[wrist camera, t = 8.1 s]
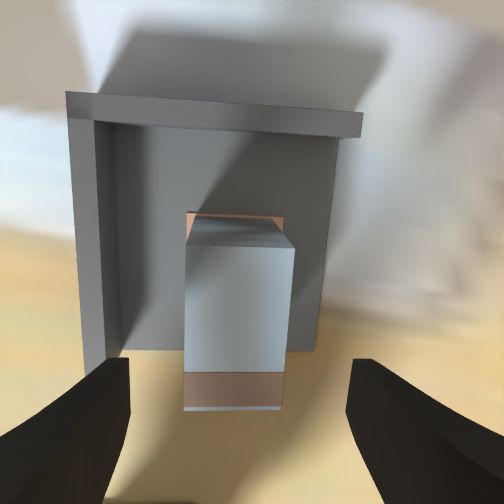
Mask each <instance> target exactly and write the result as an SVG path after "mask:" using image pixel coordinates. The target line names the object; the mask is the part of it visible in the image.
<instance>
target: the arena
mask: <svg viewBox="0 0 504 504" xmlns="http://www.w3.org/2000/svg"><path fill="white" fill-rule="evenodd" d="M66 106H67V121H68V136H69V150H70V165H71V179H72V194H73V209H74V223H75V238H76V252H77V267H78V282H79V296H80V311H81V325H82V340H83V355H84V369H85V377H86V376H87V375H88V374H89V373H90V372H92V371H93V370H94V369H95V368H96V367H98V366H99V365H100V364H101V363H102V362H104V361H105V360H106V359H107V358H118V357H119V355H120V353H121V351H122V350H184V340H185V245H186V242H187V239H188V236H189V233H190V230H191V227H192V224H193V221H194V218H195V216H211V217H236V218H260V219H273V220H274V222H275V223H276V224H277V226H278V227H279V228H280V230H281V231H282V232H283V234H284V235H285V236H286V237H287V239H288V240H289V241H290V243H291V244H292V245H293V247H294V248H295V254H294V265H293V276H292V287H291V299H290V310H289V321H288V332H287V343H286V351H314V349H315V340H316V331H317V323H318V314H319V305H320V297H321V288H322V279H323V271H324V262H325V253H326V244H327V236H328V227H329V218H330V210H331V201H332V192H333V184H334V175H335V166H336V157H337V149H338V140H339V139H343V138H359V137H360V136H361V128H362V120H363V113H362V112H348V111H334V110H320V109H307V108H293V107H279V106H265V105H251V104H238V103H224V102H210V101H196V100H182V99H168V98H155V97H141V96H127V95H113V94H99V93H86V92H71V91H66Z"/></svg>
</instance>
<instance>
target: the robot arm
mask: <svg viewBox="0 0 504 504" xmlns="http://www.w3.org/2000/svg"><path fill="white" fill-rule="evenodd" d="M345 412H346V415H347V418H348V422H349V425H350V428H351V431H352V434H353V437H354V440H355V442H356V445H357V447H358V449H359V451H360V453H361V455H362V458H363V460H364V462H365V464H366V466H367V468H368V470H369V472H370V474H371V476H372V478H373V481H374V483H375V485H376V487H377V489H378V491H379V493H380V495H381V497H382V499H383V501H384V504H504V436H502V435H500V434H498V433H496V432H493V431H491V430H489V429H487V428H485V427H483V426H481V425H479V424H477V423H476V422H474V421H472V420H470V419H468V418H466V417H464V416H462V415H460V414H459V413H457V412H455V411H453V410H452V409H450V408H448V407H447V406H445V405H443V404H441V403H440V402H438V401H436V400H435V399H433V398H432V397H430V396H428V395H427V394H425V393H424V392H422V391H421V390H419V389H417V388H416V387H414V386H413V385H411V384H410V383H408V382H407V381H405V380H404V379H402V378H401V377H399V376H398V375H396V374H395V373H393V372H392V371H390V370H389V369H387V368H386V367H384V366H383V365H381V364H380V363H378V362H376V361H374V360H373V359H353V363H352V370H351V377H350V384H349V390H348V397H347V404H346V411H345ZM130 415H131V408H130V377H129V358H107V359H106V360H105V361H104V362H102V363H101V364H100V365H99V366H98V367H96V368H95V369H94V370H93V371H92V372H90V373H89V374H88V375H87V376H86V377H84V378H83V379H82V380H81V381H79V382H78V383H77V384H76V385H74V386H73V387H72V388H71V389H70V390H68V391H67V392H66V393H64V394H63V395H62V396H60V397H59V398H58V399H56V400H55V401H53V402H52V403H51V404H49V405H48V406H47V407H45V408H44V409H43V410H41V411H40V412H38V413H37V414H36V415H34V416H33V417H31V418H30V419H28V420H26V421H25V422H23V423H22V424H20V425H19V426H17V427H15V428H14V429H12V430H10V431H9V432H7V433H5V434H4V435H2V436H0V504H102V502H103V499H104V496H105V494H106V491H107V488H108V486H109V483H110V480H111V478H112V475H113V472H114V469H115V467H116V464H117V461H118V458H119V456H120V453H121V450H122V447H123V444H124V440H125V436H126V432H127V428H128V423H129V419H130Z"/></svg>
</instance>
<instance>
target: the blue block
mask: <svg viewBox="0 0 504 504" xmlns="http://www.w3.org/2000/svg"><path fill="white" fill-rule="evenodd" d="M294 254H295V248H294V247H293V245H292V244H291V243H290V241H289V240H288V239H287V237H286V236H285V235H284V234H283V232H282V231H281V230H280V228H279V227H278V226H277V224H276V223H275V222H274V220H273V219H260V218H236V217H211V216H195V218H194V221H193V224H192V227H191V230H190V233H189V236H188V239H187V242H186V245H185V340H184V384H183V407H184V411H235V410H281V405H282V394H283V383H284V365H285V354H286V343H287V332H288V321H289V310H290V299H291V287H292V276H293V265H294Z"/></svg>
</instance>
